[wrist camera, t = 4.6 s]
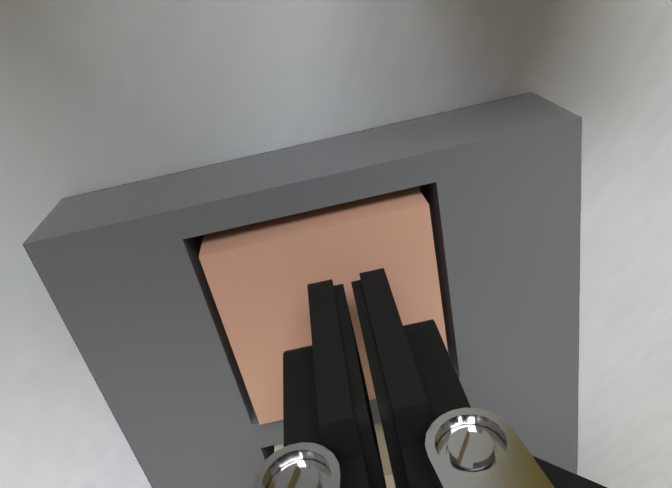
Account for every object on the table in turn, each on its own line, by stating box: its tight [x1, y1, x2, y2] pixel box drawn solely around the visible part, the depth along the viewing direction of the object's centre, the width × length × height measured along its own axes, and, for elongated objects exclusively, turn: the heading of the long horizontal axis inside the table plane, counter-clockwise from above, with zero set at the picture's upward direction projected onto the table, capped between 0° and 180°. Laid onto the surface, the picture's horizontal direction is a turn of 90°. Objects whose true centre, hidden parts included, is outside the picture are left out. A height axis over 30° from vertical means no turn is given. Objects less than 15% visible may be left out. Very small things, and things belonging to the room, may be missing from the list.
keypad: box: [23, 93, 582, 488], centre depth 17 cm, size 12×20×2 cm, turn 11°
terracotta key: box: [199, 187, 448, 425], centre depth 14 cm, size 5×5×2 cm
